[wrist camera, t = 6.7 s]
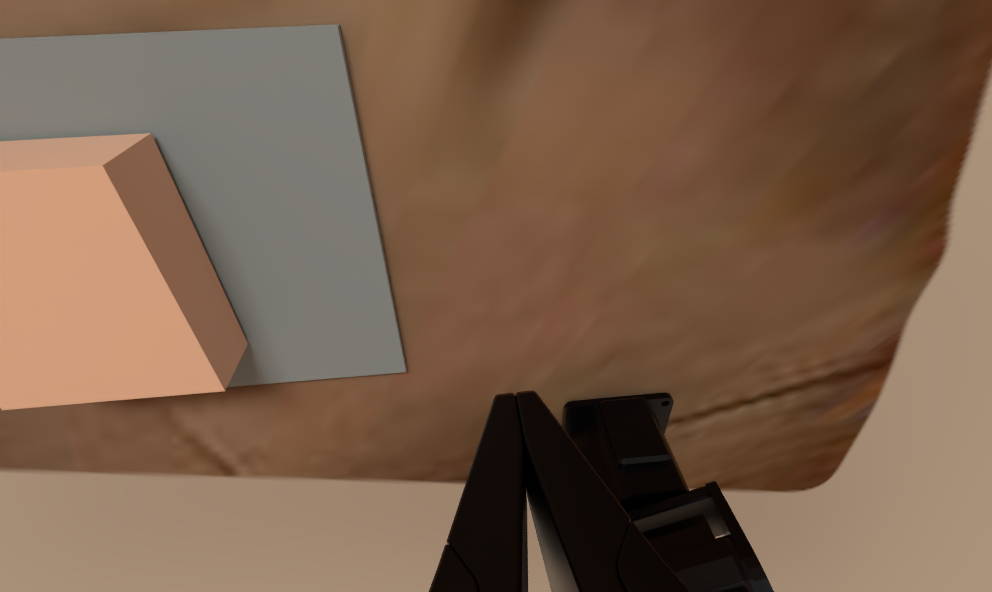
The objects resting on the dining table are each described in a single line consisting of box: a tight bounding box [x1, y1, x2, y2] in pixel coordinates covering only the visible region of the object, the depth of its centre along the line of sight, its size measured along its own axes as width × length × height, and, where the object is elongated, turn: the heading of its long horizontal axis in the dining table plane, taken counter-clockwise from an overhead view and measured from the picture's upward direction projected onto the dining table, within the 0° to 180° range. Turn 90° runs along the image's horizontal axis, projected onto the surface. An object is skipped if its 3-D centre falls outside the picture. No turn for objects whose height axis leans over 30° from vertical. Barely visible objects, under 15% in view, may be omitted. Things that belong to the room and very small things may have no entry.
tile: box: [0, 133, 248, 410], centre depth 18 cm, size 10×3×9 cm
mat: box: [0, 24, 407, 387], centre depth 20 cm, size 16×20×1 cm
